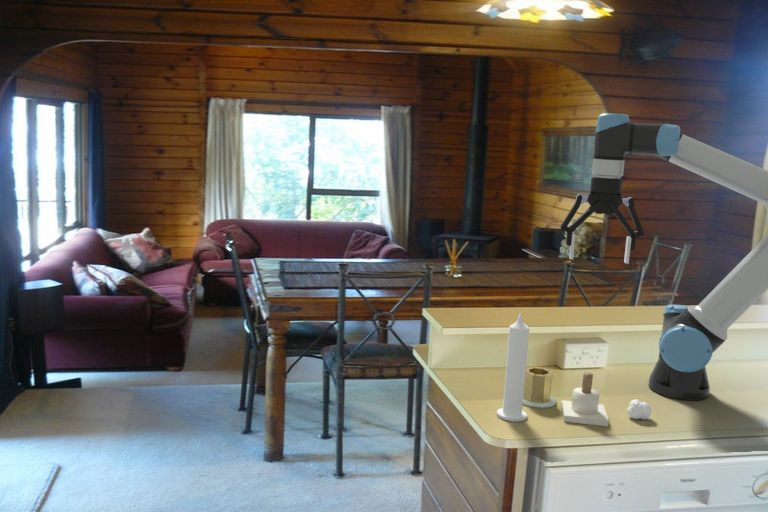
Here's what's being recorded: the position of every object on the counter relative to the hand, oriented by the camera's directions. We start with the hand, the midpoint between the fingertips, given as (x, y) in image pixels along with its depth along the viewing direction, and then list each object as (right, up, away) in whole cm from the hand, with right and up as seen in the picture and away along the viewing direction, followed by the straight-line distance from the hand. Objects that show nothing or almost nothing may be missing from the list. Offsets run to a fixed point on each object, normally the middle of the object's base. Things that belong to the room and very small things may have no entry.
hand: (598, 260), depth 188 cm
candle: (-24, -37, -13) cm, 46 cm away
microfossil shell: (+7, -38, -10) cm, 40 cm away
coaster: (-16, -35, -2) cm, 39 cm away
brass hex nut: (-16, -34, -3) cm, 38 cm away
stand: (-7, -37, -11) cm, 39 cm away
